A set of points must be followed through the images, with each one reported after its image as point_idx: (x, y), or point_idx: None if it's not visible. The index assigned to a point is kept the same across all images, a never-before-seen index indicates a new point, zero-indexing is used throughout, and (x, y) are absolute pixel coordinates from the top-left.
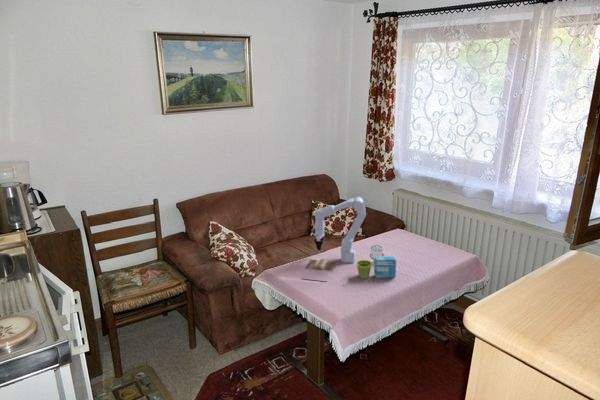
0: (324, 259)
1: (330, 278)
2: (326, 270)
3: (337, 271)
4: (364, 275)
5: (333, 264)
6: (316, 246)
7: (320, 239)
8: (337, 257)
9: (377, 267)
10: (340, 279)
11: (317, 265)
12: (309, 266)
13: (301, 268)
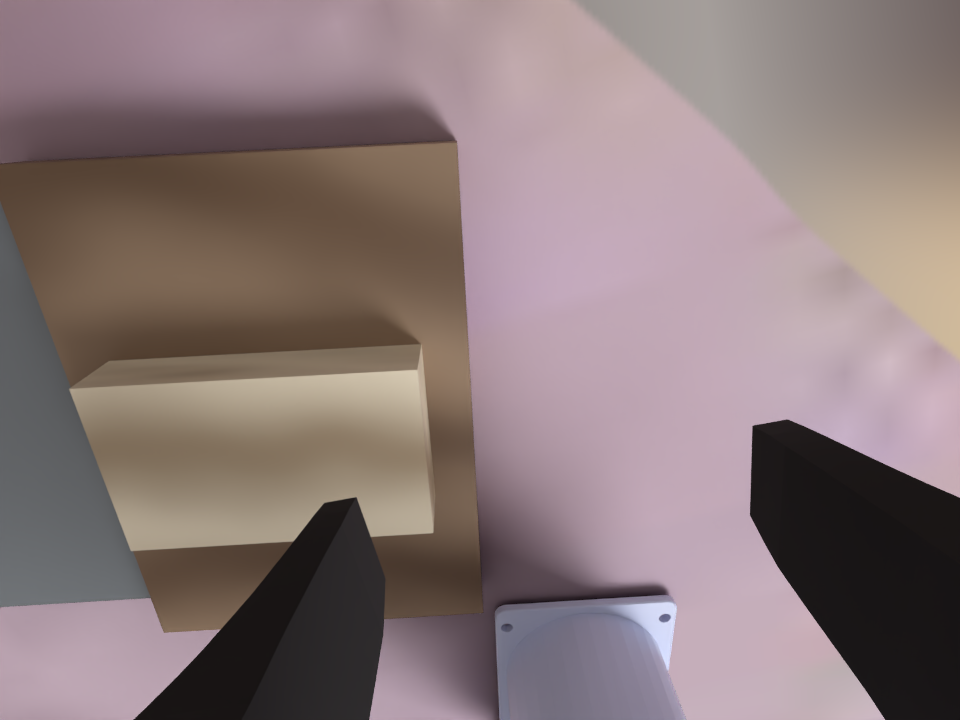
0: (415, 483)
1: (26, 611)
2: (136, 555)
3: None
4: None
5: (387, 586)
6: (245, 602)
7: (937, 695)
8: (725, 528)
9: None
10: (77, 705)
11: (93, 442)
12: (119, 239)
13: (66, 47)
